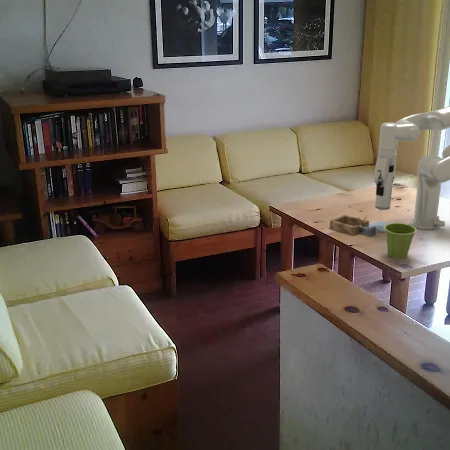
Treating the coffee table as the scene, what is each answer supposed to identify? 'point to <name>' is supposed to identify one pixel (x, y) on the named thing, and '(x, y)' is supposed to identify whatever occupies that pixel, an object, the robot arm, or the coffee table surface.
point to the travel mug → (386, 192)
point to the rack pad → (379, 226)
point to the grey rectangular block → (367, 230)
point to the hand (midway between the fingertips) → (383, 193)
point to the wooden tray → (342, 227)
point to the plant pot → (399, 239)
